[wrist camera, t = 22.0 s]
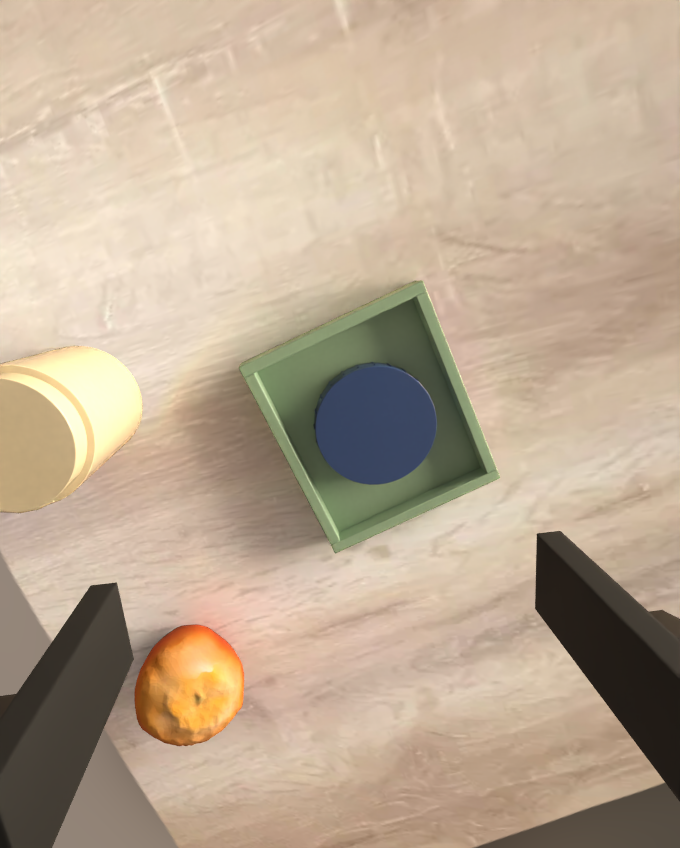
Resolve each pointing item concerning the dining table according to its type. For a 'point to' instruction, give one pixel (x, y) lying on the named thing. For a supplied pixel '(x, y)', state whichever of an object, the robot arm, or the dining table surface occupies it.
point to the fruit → (189, 686)
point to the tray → (344, 348)
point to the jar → (61, 422)
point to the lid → (374, 423)
